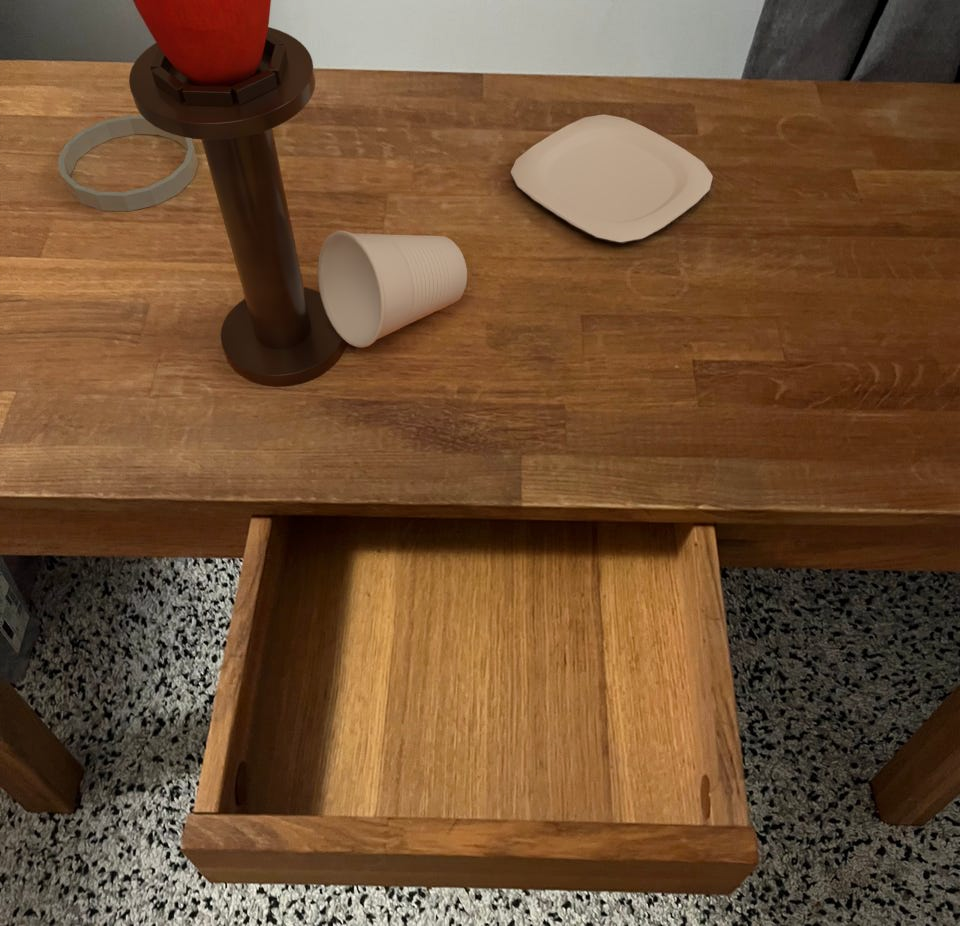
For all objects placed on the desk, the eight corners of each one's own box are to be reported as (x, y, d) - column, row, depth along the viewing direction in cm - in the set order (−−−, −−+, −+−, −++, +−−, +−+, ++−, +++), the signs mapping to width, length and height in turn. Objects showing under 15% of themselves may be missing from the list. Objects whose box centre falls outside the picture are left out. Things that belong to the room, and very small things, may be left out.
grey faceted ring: (108, 229, 87) (101, 213, 86) (41, 167, 93) (34, 151, 91) (222, 171, 93) (218, 155, 91) (153, 116, 98) (147, 100, 97)
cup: (454, 343, 83) (357, 370, 77) (403, 263, 85) (305, 282, 79) (499, 276, 75) (396, 300, 69) (442, 190, 78) (337, 205, 71)
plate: (489, 183, 93) (490, 169, 91) (600, 115, 100) (602, 101, 99) (620, 268, 85) (623, 255, 84) (729, 187, 93) (733, 174, 92)
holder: (271, 413, 74) (191, 133, 52) (192, 338, 79) (88, 52, 57) (379, 342, 79) (348, 59, 57) (298, 275, 84) (241, -10, 62)
